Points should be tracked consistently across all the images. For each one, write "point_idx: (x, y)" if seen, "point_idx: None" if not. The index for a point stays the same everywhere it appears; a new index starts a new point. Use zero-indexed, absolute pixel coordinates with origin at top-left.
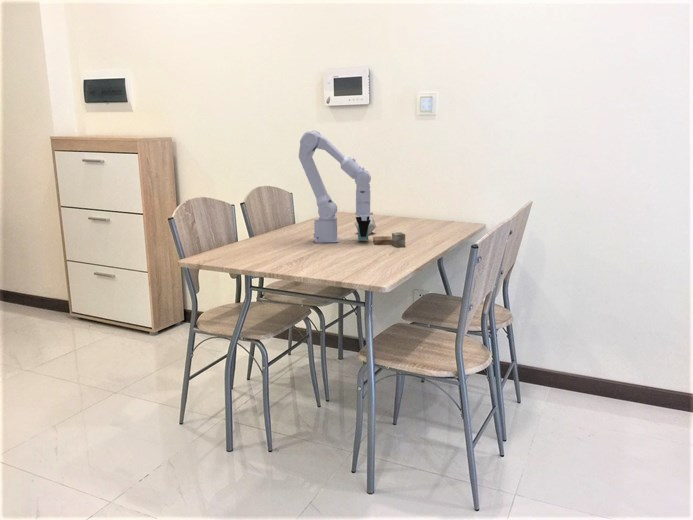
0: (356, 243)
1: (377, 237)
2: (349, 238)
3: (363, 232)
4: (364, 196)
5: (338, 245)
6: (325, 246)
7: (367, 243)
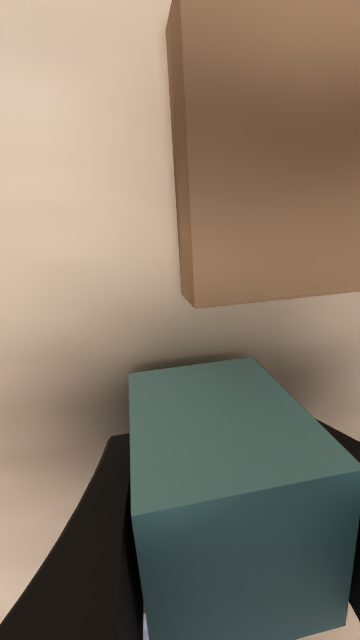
0: None
1: (267, 244)
2: (26, 548)
3: None
4: None
5: None
6: None
7: (284, 352)
